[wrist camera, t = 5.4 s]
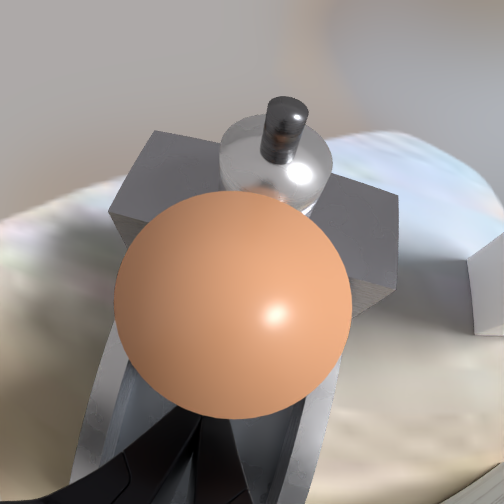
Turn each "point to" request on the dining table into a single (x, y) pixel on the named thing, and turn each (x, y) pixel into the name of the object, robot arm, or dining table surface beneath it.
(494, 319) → the milk
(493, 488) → the supplement box
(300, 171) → the potentiometer
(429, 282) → the dining table surface
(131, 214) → the mount
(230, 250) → the knob
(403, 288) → the dining table surface
